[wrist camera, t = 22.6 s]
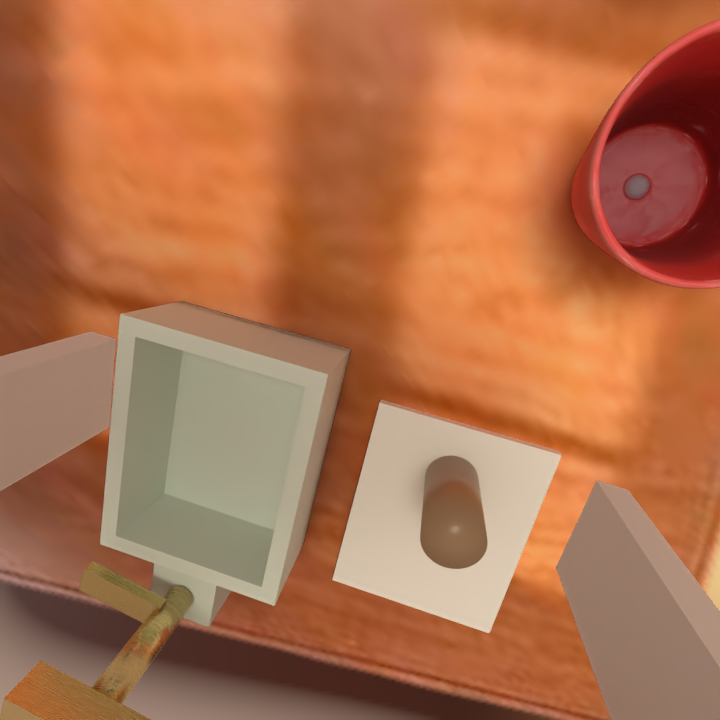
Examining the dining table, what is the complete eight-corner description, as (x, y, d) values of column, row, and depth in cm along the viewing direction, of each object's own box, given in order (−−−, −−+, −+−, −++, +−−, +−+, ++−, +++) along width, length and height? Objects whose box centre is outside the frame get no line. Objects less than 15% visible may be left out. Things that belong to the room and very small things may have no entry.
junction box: (152, 531, 41) (96, 586, 35) (181, 301, 35) (120, 313, 28) (294, 580, 40) (264, 647, 33) (350, 349, 34) (328, 374, 27)
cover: (335, 570, 39) (307, 655, 31) (381, 397, 35) (362, 443, 27) (487, 621, 38) (499, 725, 30) (557, 448, 33) (595, 514, 25)
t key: (223, 633, 33) (128, 800, 23) (100, 570, 34) (-43, 706, 24) (233, 610, 33) (139, 772, 23) (107, 546, 33) (-38, 675, 23)
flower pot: (508, 184, 29) (538, 155, 20) (666, 49, 26) (791, -61, 17) (606, 309, 30) (680, 337, 21) (772, 192, 27) (948, 164, 17)
